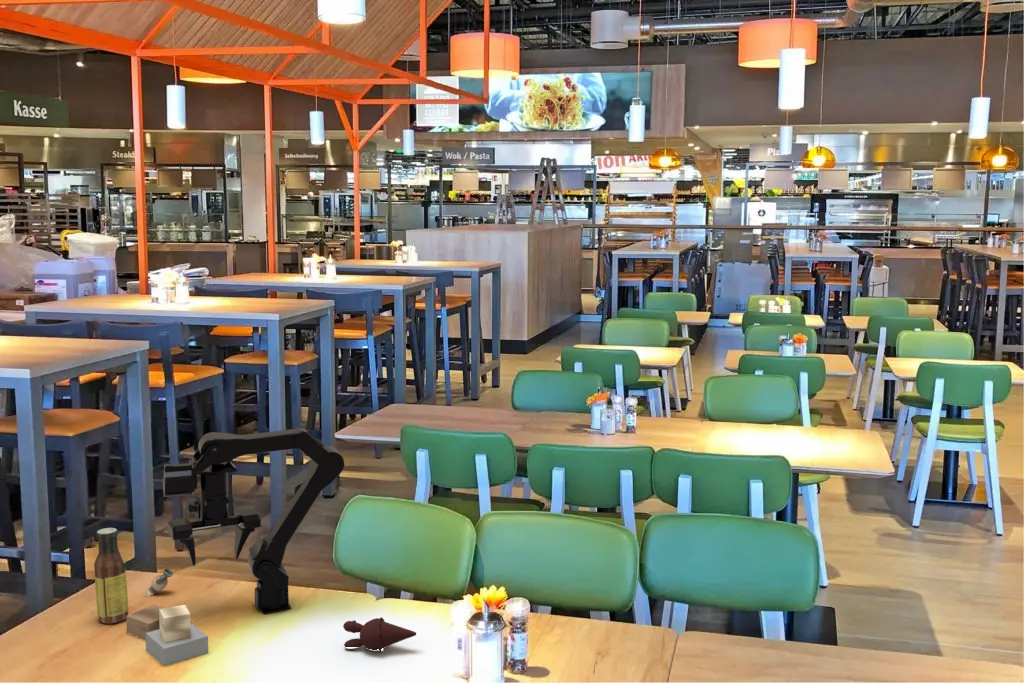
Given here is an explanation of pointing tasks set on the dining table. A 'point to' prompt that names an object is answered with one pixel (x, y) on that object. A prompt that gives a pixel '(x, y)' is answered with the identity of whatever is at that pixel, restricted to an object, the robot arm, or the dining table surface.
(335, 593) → the dining table surface
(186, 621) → the birch cube
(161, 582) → the vase
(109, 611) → the sauce bottle
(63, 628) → the dining table surface
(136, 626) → the walnut block
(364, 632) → the icecream
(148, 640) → the slate block
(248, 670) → the dining table surface
